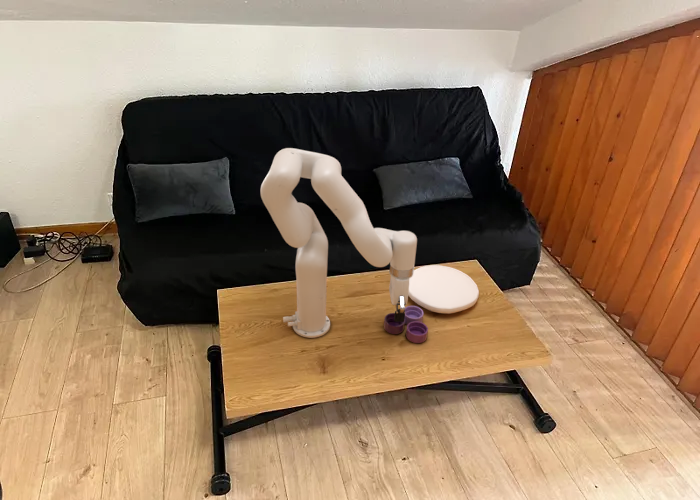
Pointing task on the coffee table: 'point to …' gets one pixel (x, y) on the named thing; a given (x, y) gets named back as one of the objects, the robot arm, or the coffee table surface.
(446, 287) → the plate
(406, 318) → the lilac dish
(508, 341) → the coffee table surface
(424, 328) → the plum dish
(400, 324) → the aubergine dish
